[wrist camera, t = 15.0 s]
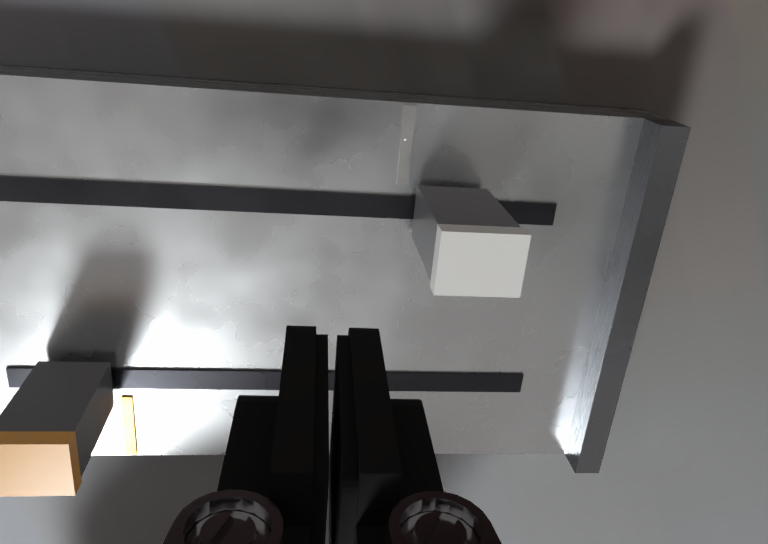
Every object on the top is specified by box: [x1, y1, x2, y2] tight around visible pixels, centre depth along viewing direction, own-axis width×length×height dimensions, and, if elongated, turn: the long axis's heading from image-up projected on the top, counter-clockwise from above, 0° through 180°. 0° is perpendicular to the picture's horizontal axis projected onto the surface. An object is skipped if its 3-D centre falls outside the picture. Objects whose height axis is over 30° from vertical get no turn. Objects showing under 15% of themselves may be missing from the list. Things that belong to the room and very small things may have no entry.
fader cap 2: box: [412, 185, 531, 298], centre depth 20 cm, size 2×2×5 cm
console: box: [0, 65, 691, 473], centre depth 24 cm, size 26×14×3 cm, turn 85°
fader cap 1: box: [0, 361, 114, 497], centre depth 21 cm, size 2×2×5 cm
